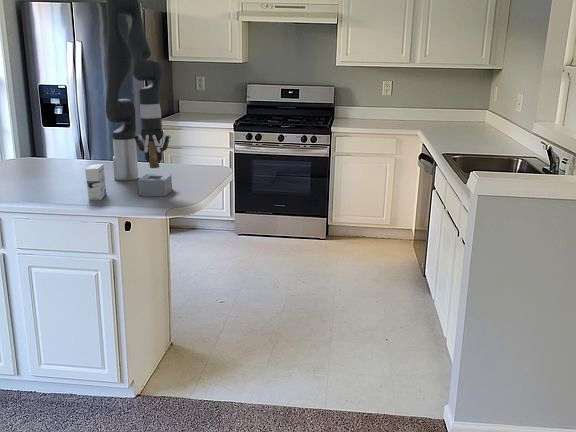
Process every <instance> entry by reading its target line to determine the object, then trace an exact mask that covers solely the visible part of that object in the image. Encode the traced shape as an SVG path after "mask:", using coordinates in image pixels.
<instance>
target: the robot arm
mask: <svg viewBox="0 0 576 432" xmlns="http://www.w3.org/2000/svg"><path fill="white" fill-rule="evenodd" d="M105 4H106V9H105V10H106V17H107V18H106V20H107V21H106V22H107V52H106V53H107V55H106V56H107V61H106V62H107V85H106V86H107V88H106V97H105V98H106V99H105V115H106V118H107V120H108V122H110V123H122V124H121V125H120V126H119V127H118V128H117V129H115V130H113V131H112V133H111V134H112V135H111V137H112V138H111V139H112V146H113V156H112V166H113V167H112V169H113V176H114V177H113V178H114V180H117V181H124V182H125V181H134V180H137V179H140V178H139V165H138V163H139V162H138V154H137V153H138V152H137V147H138V149H139V151H140V152H141V151H142V152H144V157H145V158H144V159H145V161H146V162H147V163H149V151H148V143H149V142H155V146H156V148H157V151H158V153H157V157H158V162H159V163H161V162H162V161H163V152H164V151H166V150H167V149H168V146H169V144H170V140H171V135H170V134H165V133H164V131H163V125H162V110H161V104H160V87H161V82H162V81H161V80H162V77H163V67H162V64H161V63H160V62H159V61H158V60H154V59H153V60H148V59H149V58H151V55H152V51H151V48H150V45H149V43H148V40H147V38H146V34H145V31H144V24H143V19H142V14H141V9H140V8H141V6H140V2H139V0H105ZM119 16H123V17H124V16H126V17H130V18H131V24H130V27H129V29H128V31H127V37H125V36H124V34H123V32H122V30H121V27H120V24H119V23H120V22H119ZM131 70H132V75H133V78H134V79H136V80H137V81H140V82H142V81H143V82H145V81H146V82H147V81H150V83H149V85H148V86H144V87H142V88H140V89H139V93H138V94H139V95H138V96H139V104H140V106H139V116H140V127H141V128H140V129H141V132H140V133H139V134H136V132H137V123H136V108H135V107H136V106H135V104H134V102H133V100H132V99H130V98H120V99H119V97H120V92H121V88H122V86H123V85H124V83H125V81H126V79H127V78H128V77H129V75H130V73H131ZM162 138H163V144H162V143H161V140H162ZM142 139H143V141H145V142H144V144H143V141H142Z"/></svg>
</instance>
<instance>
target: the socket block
mask: <svg viewBox="0 0 576 432" xmlns="http://www.w3.org/2000/svg"><path fill="white" fill-rule="evenodd" d="M172 179H173V178H172V174H164V173H163V174H162V173H161V174H160V173H159V174H157V173H155V174H152V173H150V174H149V173H147V174H146V173H145V174H144V175H143V176H141V177H140V178H138V180H137V182H138V183H137V185H138V193H139V195H142V197H143V196H145V197H146V196H147V197H148V196H149V197H166V196H167V195H168V194H169V193H171V192H172V191H173V182H172V181H173V180H172ZM139 195H138V196H139Z"/></svg>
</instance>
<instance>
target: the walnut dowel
mask: <svg viewBox="0 0 576 432" xmlns="http://www.w3.org/2000/svg"><path fill="white" fill-rule="evenodd" d="M148 151H149V162H148V163H149V168H150V169H158V168H160V162H158V157H157V153H158V151H157V148H156V146H155V142H149V143H148Z"/></svg>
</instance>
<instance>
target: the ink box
mask: <svg viewBox="0 0 576 432" xmlns="http://www.w3.org/2000/svg"><path fill="white" fill-rule="evenodd" d="M85 178H86V186H87V187H86V188H87V197H88V198H87V199H88V200H89V201H96V200H100V201H101V200H103V199H104V197H105V196H106V195H107V188H106V187H107V186H106V177H105V168H104V164H103V163H97V164H90V165H89V166H87V167H86V168H85Z"/></svg>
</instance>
